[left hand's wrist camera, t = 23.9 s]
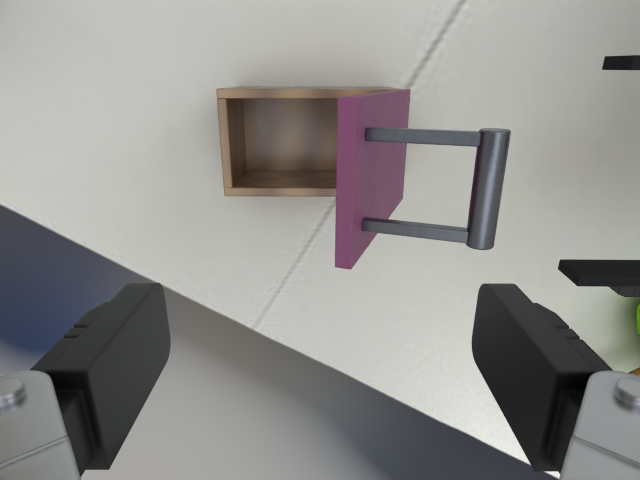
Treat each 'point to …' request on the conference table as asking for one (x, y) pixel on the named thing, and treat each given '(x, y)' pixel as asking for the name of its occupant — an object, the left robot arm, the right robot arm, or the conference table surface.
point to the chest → (281, 139)
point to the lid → (388, 175)
